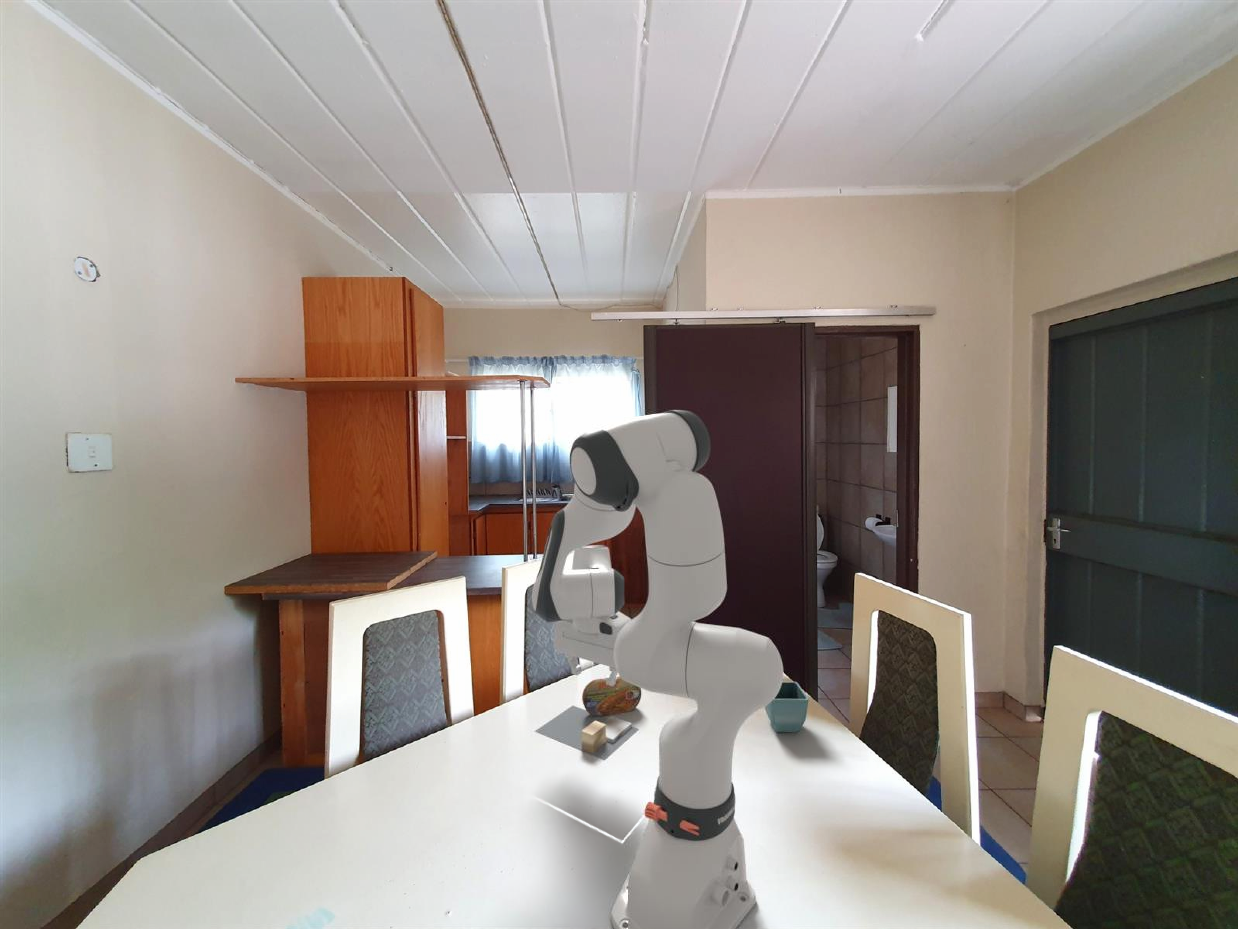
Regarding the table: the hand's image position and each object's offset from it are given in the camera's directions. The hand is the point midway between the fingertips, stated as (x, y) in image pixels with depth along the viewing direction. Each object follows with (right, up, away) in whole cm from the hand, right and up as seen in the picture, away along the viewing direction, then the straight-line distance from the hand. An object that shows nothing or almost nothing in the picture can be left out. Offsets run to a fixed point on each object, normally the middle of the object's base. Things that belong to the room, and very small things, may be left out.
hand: (593, 679), depth 110 cm
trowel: (+2, -15, +3) cm, 15 cm away
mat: (-2, -15, +6) cm, 17 cm away
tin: (+4, -15, +15) cm, 21 cm away
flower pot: (+45, -15, +8) cm, 48 cm away
